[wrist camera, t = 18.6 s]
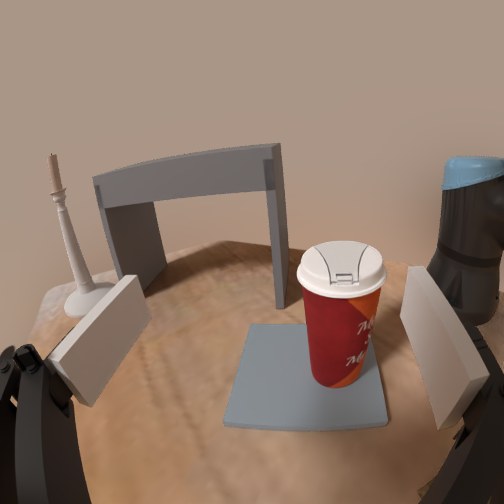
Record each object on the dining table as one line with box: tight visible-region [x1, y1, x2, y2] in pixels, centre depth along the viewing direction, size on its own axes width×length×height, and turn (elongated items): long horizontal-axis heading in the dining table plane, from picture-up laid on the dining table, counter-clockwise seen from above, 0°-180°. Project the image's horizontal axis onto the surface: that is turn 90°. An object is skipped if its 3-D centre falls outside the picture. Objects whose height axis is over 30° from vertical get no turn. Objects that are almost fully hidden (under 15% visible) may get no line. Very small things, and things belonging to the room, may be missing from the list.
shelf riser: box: [93, 143, 289, 309], centre depth 47 cm, size 28×16×24 cm, turn 80°
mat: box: [223, 324, 388, 431], centre depth 29 cm, size 16×16×1 cm
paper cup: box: [297, 240, 387, 388], centre depth 25 cm, size 8×8×14 cm
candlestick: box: [47, 154, 115, 318], centre depth 43 cm, size 13×13×30 cm
